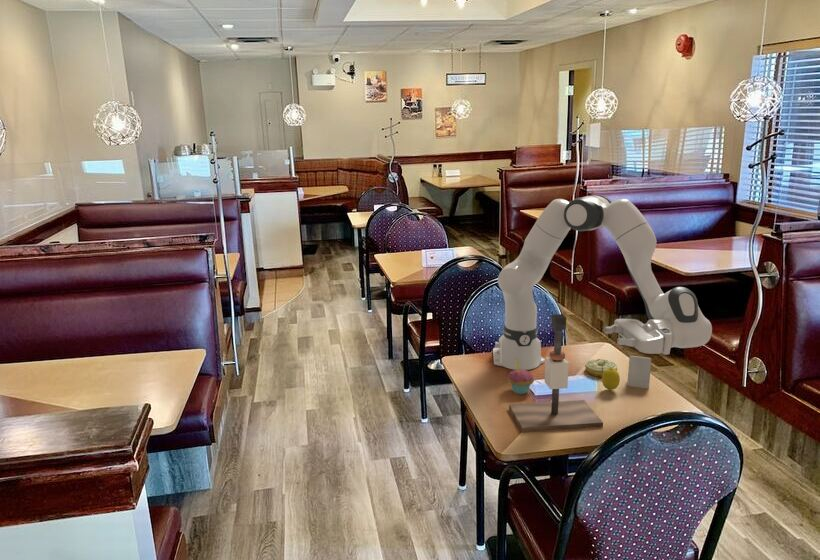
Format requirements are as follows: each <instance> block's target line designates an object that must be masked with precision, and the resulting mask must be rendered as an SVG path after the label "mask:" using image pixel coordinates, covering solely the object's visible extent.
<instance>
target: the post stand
mask: <svg viewBox="0 0 820 560" xmlns="http://www.w3.org/2000/svg"><path fill="white" fill-rule="evenodd" d="M551 328H552V329H553V330H554V338H553V339H554V340H553V341H554V342H553V346H554V347H553V350H552V351H549V357H550V358H551V359H553V360H554V362H561V360H563V359H566V353H565V352H564V351H562V339H563V330H564V331H565V330H567V316H566V315H564V314H562V313H561V314H560V313H558V314H557V313H556V314H551ZM551 390H552V391H551V401H546V402H544V401H543V402H529V403H528V402H527V403H514V404H513V403H511V404H508V410H509V413H511V415H512V417H513V419H514V420H515V422H516V424H517V426H518V428H519V429H520V431H521V433H535V432H549V431H551V432H553V431H565V430H579V429H582V430H583V429H593V428H594V429H595V428H597V429H598V428H603V427H604V422H603V421H602V419H601V418H600V417H599V415H597V413H596V412H595V411H594V410H593V408H592V407H591V406H590V405H589V404H588V402H587V401H586V400H585V399H579V400H578V399H577V400H561V401H559V399H560V389H551Z"/></svg>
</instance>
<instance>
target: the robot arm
mask: <svg viewBox="0 0 820 560" xmlns="http://www.w3.org/2000/svg"><path fill="white" fill-rule="evenodd" d="M599 228H604V229H606V230H607V231H608V232H609V234H610V235H611V236H612V238H613V239H614V241H615V243H616V244H617V246H618V247H619V250H620V252H621V254H622V255H623V258H624V260H625V265H626V267H627V270H628V272H629V274H630V277H631V279H632V281H633V282H634V284H635V286H636V288H637V290H638V292H639V294H640V297H642V300H643V303H644V308H645V312H646V315H647V318H648V320H647V321H646V323H643V322H642V321H640V320H639V319H635V318H616V319H615V320H614V321H613V322H614V323H613V324H612V325H610V326H605V327H604V328H603V329H604V330H603V332H604V333H605V334H607V335H611V334H612V333H618V335H620V336H621V337H618V338H617V339H616V344H617V345H619V346H628V347H630V348H631V347H632V348H635V349H636V350H637V351H638V352H640V353H643V354H648V355H649V354H650V355H651V354H652V355H655V354H656V355H657V354H662V355H664V356H666V355H670V352H671V348H679V349H689V348H690V349H691V348H698V347H702V346H704V345H706V344H708V342H710V340H711V338H712V334H713V326H712V323H711V322H710V319H708V318H707V317H705V315H704V314H703V312H702V310H701V308H700V307H699V304H698V302H699V301H698V298H697V297H696V294H695V293H694V292H693V291H692V290H690V289H689V288H687V287H684V286H675V287H673V288H672V289H670V290H668V291H666V292H665V293H664V291H663V290H662V289H661V287H660V285H659V284H660V283H658V281H657V278H656V276H655V274H654V272H653V270H652V265H651V264H652V258H653V256H654V252H655V251H656V247H657V243H658V241H657V237H656V235H655V233H654V230H653V228H652V227H651V225H650V224H649V222H648V221H647V219H646V218H645V217H644V214H642V212H640V210H639V209H638V207H636V205H634V203H633V202H631V200H629V199H627V198H619V199H616V200H613V201H611V200H610V199H609V198H608V197H606V196H603V195H586V196H582V197H576V198H574V199H572V200H569V201H568V200H567V199H564V198H556V199H553V200H552V201H551V202H549V204H548V205H547V206H546V207H545V208H544V210H543V211H542V212H541V214H540V215H539V216H538V218H537V219H536V221H535V223H534V225H533V226H532V228H531V229H530V231H529V233H528V234H527V236H526V237H525V240H523V241H524V243H523V246H522V248H521V251H520V252H519V255H518V256H517V257H516V258H515V260H513V261H512V262H509V263H508V264H506V265H505V266H503V268H502V269H501V271H500V273H499V274H498V276H497V284H498V287H499V289H500V290H501V291H502V295H503V300H504V306H505V307H504V308H505V309H504V311H505V312H504V314H505V315H504V322H505V323H504V325H503V328H502V329H503V330H502V334H501V336H500V337H499V338H498V341H494V347H493V348H492V356H493V365H495V366H499V367H503V368H506V369H510V370H516V369H517V367H516V358H517V360H518V366H519V369H523V370H527V371H529V370H533V369H534V370H535V369H536V368H538V367H539V366H540V365H542V364H544V363H545V362H546V358H544V357H543V356H542V348H541V347H542V343H541V340H540V339H539V338H538V332H539V331H538V326H537V316H538V315H537V312H538V311H537V310H538V309H537V308H538V307H537V304H536V303H535V299H534V294H533V290H534V289H533V288H534V286H535V285H537V284H538V283H539V282H540V281H541V280H542V278H543V277H544V274H545V273H546V271H547V269H548V267H549V265H550V263H551V261H552V259H553V257H554V255H555V254H556V252H557V251H558V249H559V247H560V246H561V244H562V242H563V241H564V239H565V238H566V237H567V235H568V233H569V231H571V229H572V230H573V231H578V232H586V231H594V230H597V229H599Z"/></svg>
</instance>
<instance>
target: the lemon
mask: <svg viewBox="0 0 820 560" xmlns="http://www.w3.org/2000/svg"><path fill="white" fill-rule="evenodd" d="M620 381H621V379H620V373H619V372H618V370H617V371H616V370H615V369H613V368H610V369H607V370H605V371H604V373H603V376H602V377H601V383H602V386H603V387H604V388H605V389H607V390H608V391H610V392H611V391H613V390H615V389H617V388H618V386H619V385H620V383H621V382H620Z"/></svg>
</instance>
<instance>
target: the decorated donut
mask: <svg viewBox="0 0 820 560" xmlns="http://www.w3.org/2000/svg"><path fill="white" fill-rule="evenodd" d="M584 367H585V371H587V373H589V374H590V375H591V376H594V377H599V378H602V376H603V373H604V371H605V370H607V369H610V368H613V369H615V370H616V371H617V372H618V364H617V363H615V362H614V361H611V360H608V359H605V358H604V359H603V358H598V359H597V358H594V359H590V360H588V361H586V362H585V365H584Z"/></svg>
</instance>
